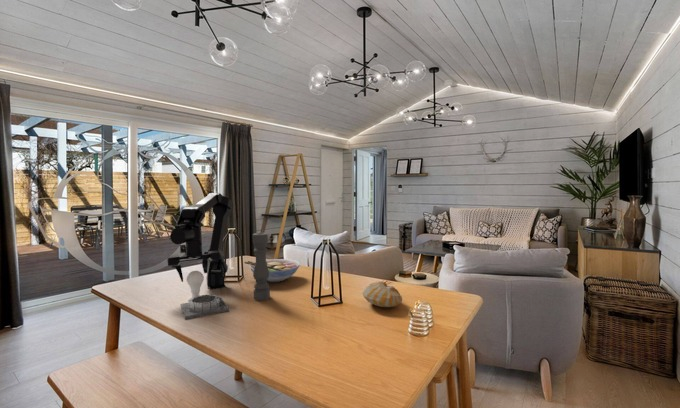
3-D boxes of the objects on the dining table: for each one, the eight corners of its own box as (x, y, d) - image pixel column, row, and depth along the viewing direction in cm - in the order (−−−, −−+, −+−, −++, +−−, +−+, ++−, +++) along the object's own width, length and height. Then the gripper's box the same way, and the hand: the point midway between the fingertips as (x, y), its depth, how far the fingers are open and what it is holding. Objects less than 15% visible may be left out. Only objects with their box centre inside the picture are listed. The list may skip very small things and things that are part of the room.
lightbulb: (187, 302, 129) (186, 273, 128) (186, 298, 134) (185, 270, 134) (205, 299, 132) (204, 271, 131) (203, 295, 137) (202, 268, 137)
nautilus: (376, 293, 138) (413, 300, 132) (353, 307, 119) (395, 316, 112) (377, 273, 138) (414, 280, 131) (355, 284, 119) (396, 292, 112)
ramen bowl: (312, 279, 158) (312, 261, 157) (272, 291, 141) (271, 272, 140) (278, 271, 174) (277, 255, 174) (238, 281, 157) (237, 263, 157)
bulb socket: (220, 299, 132) (220, 290, 132) (228, 310, 120) (228, 301, 120) (180, 306, 125) (180, 297, 125) (185, 319, 113) (184, 309, 113)
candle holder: (250, 299, 131) (248, 234, 130) (260, 294, 137) (258, 232, 135) (264, 301, 129) (262, 235, 127) (273, 296, 135) (271, 233, 133)
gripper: (215, 234, 143) (216, 271, 144) (165, 239, 134) (166, 278, 135) (220, 238, 134) (222, 278, 135) (167, 243, 124) (169, 285, 125)
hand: (195, 279), depth 133 cm, fingers open, 9 cm apart
